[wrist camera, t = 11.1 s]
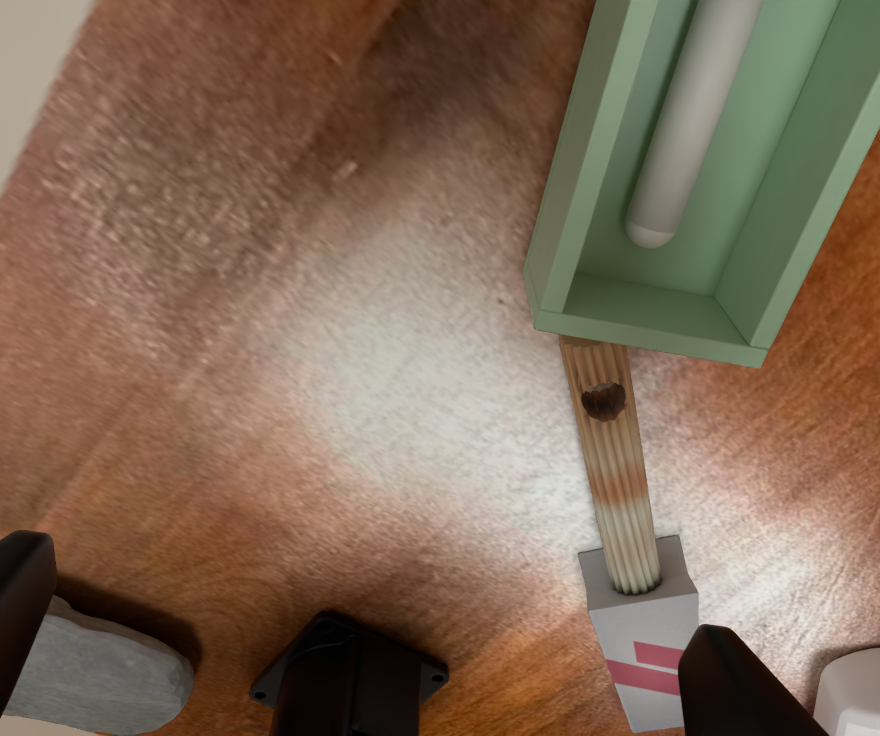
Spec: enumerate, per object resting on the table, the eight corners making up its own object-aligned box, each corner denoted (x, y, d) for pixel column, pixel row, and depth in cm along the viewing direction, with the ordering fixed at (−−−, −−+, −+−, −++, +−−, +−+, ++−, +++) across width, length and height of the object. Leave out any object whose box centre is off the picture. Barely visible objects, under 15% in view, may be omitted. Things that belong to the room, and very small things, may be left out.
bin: (718, 309, 22) (760, 369, 19) (521, 274, 22) (533, 330, 19) (909, -125, 16) (1012, -136, 13) (647, -190, 16) (694, -216, 13)
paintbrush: (701, 690, 32) (642, 295, 22) (721, 750, 30) (666, 340, 20) (614, 703, 33) (517, 325, 22) (627, 764, 30) (525, 373, 20)
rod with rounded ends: (670, 247, 20) (664, 262, 19) (622, 232, 21) (613, 245, 19) (786, -55, 16) (786, -59, 15) (724, -67, 17) (719, -72, 16)
